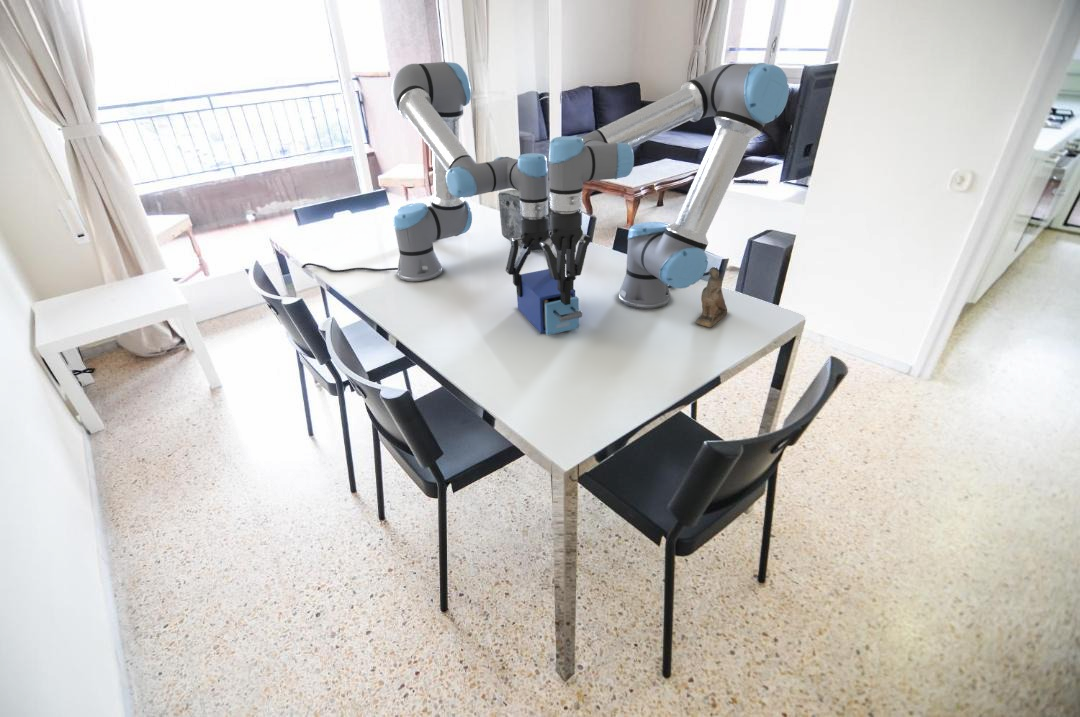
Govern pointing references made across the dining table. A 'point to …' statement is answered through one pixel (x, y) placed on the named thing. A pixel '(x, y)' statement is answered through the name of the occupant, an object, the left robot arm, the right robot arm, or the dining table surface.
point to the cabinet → (537, 296)
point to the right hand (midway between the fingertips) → (565, 302)
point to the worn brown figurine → (712, 301)
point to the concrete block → (513, 214)
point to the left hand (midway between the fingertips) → (537, 291)
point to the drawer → (560, 315)
